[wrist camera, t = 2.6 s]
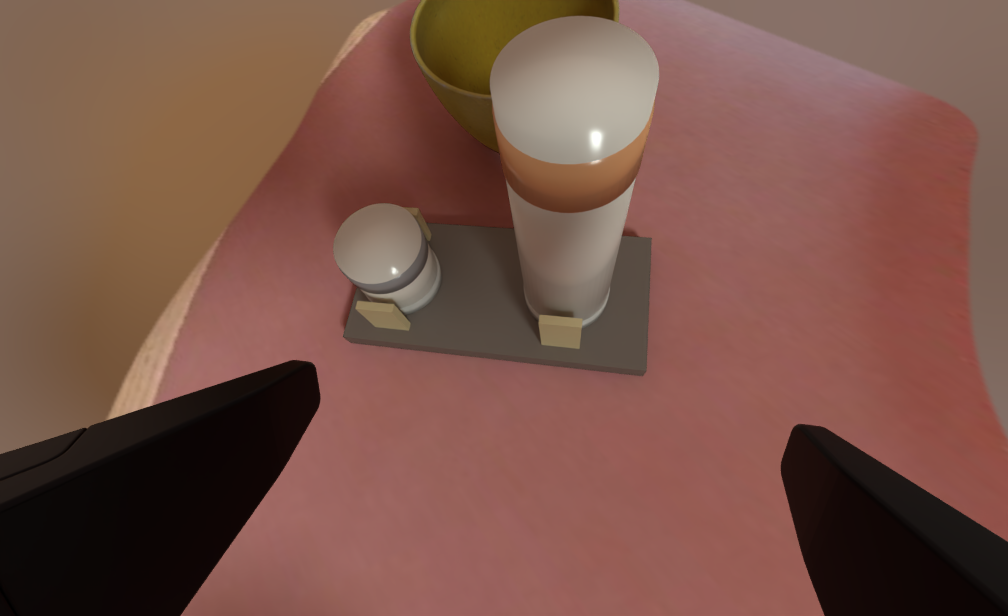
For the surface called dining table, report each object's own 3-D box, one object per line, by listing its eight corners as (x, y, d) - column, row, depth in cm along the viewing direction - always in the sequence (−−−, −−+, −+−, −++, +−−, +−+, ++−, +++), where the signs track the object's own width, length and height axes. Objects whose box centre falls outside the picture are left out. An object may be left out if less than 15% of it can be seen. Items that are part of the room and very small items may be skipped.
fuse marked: (509, 307, 23) (454, 105, 11) (550, 244, 24) (541, -3, 12) (582, 346, 22) (610, 168, 10) (622, 278, 23) (690, 42, 11)
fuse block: (351, 342, 25) (313, 315, 21) (382, 228, 27) (354, 186, 23) (642, 376, 22) (659, 352, 18) (648, 247, 25) (663, 203, 21)
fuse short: (351, 293, 24) (314, 257, 21) (396, 233, 26) (368, 189, 22) (412, 329, 23) (384, 297, 20) (457, 265, 24) (438, 224, 21)
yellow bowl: (483, 221, 26) (457, 130, 20) (420, 107, 30) (381, -1, 24) (638, 148, 27) (662, 36, 20) (557, 45, 31) (555, -77, 24)
